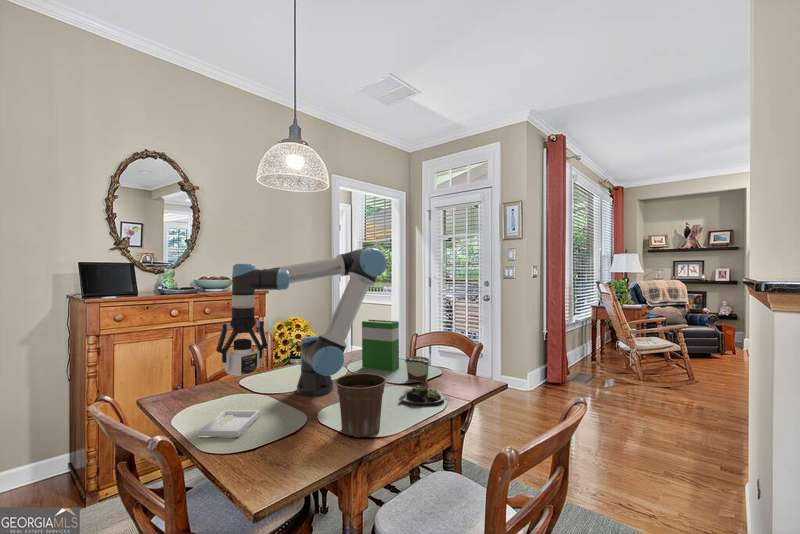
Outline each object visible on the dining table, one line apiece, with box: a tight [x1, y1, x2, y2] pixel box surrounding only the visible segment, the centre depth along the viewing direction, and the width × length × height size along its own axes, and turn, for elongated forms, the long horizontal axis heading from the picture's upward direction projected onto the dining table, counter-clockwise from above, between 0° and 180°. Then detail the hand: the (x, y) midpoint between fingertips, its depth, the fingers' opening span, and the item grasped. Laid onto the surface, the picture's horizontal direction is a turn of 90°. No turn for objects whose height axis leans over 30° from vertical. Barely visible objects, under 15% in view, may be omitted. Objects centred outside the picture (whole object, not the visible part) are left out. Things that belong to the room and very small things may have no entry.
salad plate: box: [398, 384, 445, 407], centre depth 151 cm, size 19×18×5 cm
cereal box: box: [361, 319, 400, 372], centre depth 194 cm, size 18×7×24 cm, turn 64°
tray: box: [197, 409, 261, 438], centre depth 125 cm, size 13×17×2 cm
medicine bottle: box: [227, 337, 258, 377], centre depth 134 cm, size 7×7×12 cm
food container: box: [404, 356, 431, 384], centre depth 174 cm, size 12×6×10 cm, turn 58°
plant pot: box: [335, 372, 387, 438], centre depth 122 cm, size 16×16×16 cm
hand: (242, 369), depth 134 cm, fingers closed on medicine bottle, 9 cm apart
